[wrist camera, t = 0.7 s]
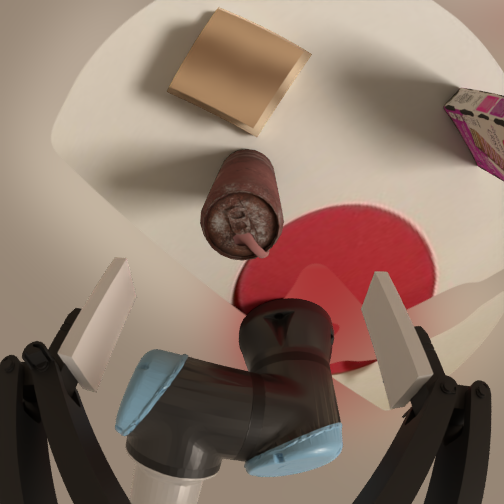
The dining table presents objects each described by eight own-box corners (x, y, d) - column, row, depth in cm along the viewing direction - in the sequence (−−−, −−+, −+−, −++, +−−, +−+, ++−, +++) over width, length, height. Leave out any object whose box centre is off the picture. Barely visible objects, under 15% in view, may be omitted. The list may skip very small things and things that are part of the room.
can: (249, 209, 34) (245, 280, 22) (210, 174, 32) (181, 229, 20) (286, 175, 32) (304, 231, 20) (246, 137, 30) (238, 169, 18)
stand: (257, 135, 30) (257, 142, 25) (170, 91, 27) (155, 91, 23) (309, 56, 25) (318, 49, 20) (220, 10, 22) (213, -3, 18)
